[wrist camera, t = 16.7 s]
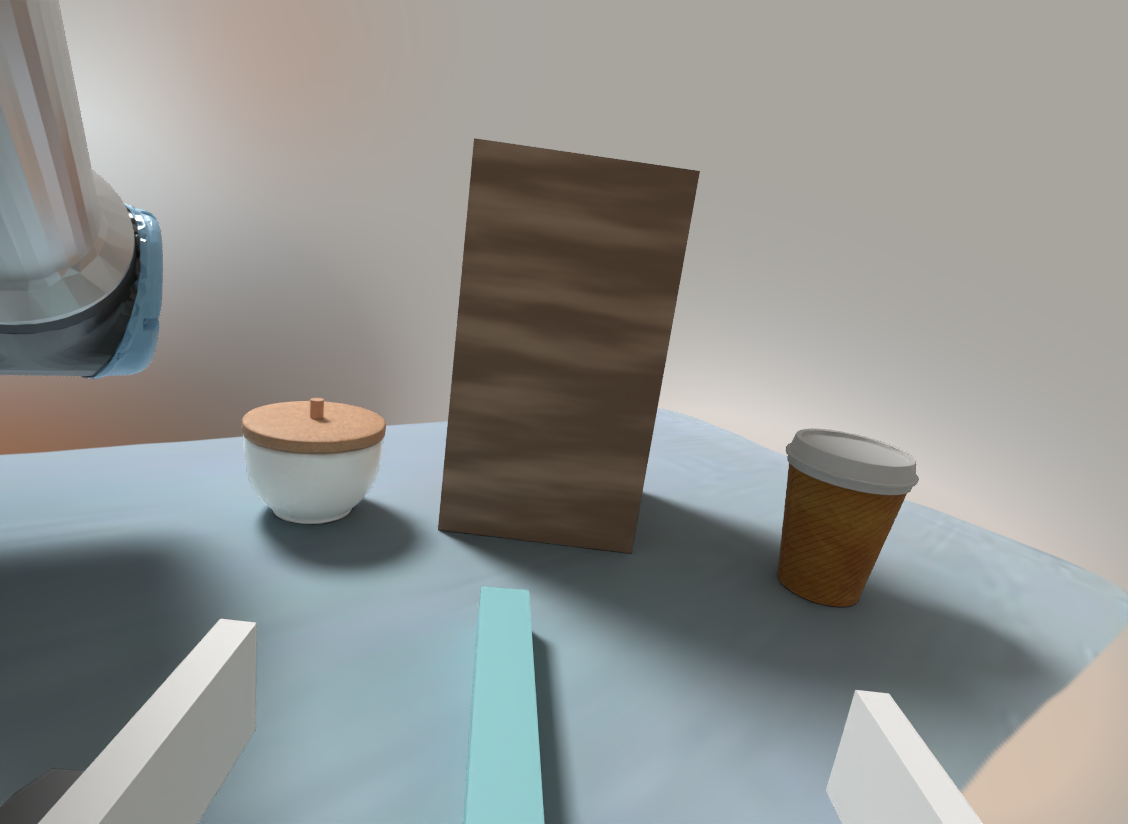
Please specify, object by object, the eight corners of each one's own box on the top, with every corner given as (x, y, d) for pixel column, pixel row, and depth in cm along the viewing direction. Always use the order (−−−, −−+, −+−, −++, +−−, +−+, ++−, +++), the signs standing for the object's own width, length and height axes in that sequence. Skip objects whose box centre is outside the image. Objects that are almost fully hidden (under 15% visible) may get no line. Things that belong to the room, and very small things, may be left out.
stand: (631, 553, 54) (699, 171, 46) (438, 529, 53) (474, 138, 45) (615, 482, 69) (665, 187, 61) (466, 463, 68) (496, 163, 61)
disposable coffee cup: (879, 580, 55) (918, 447, 52) (882, 635, 46) (928, 480, 43) (765, 546, 58) (795, 419, 55) (748, 591, 50) (783, 445, 47)
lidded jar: (380, 537, 50) (388, 423, 48) (228, 538, 47) (228, 415, 45) (379, 484, 60) (386, 386, 58) (253, 481, 57) (254, 378, 55)
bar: (550, 1228, 17) (566, 1151, 16) (433, 1232, 16) (443, 1155, 16) (523, 631, 42) (529, 590, 41) (476, 628, 41) (481, 586, 41)
